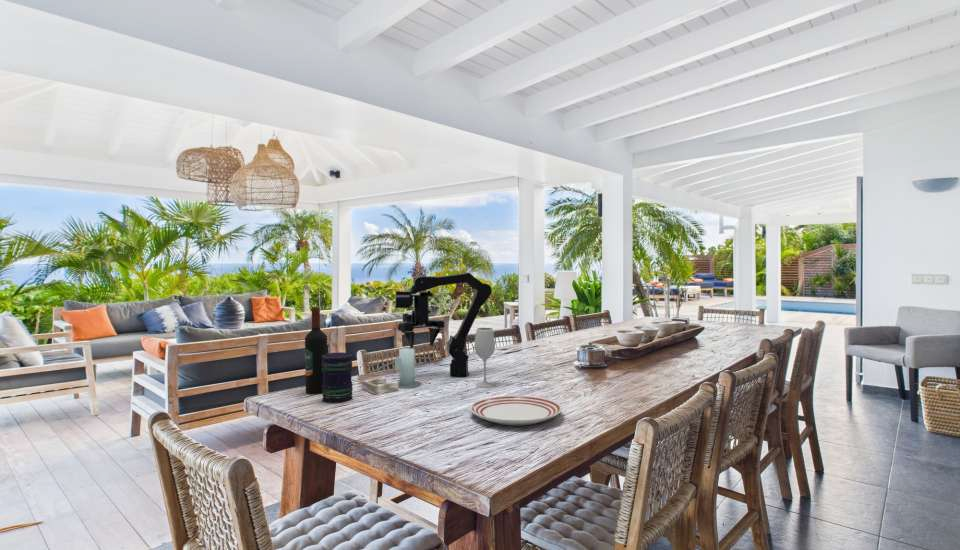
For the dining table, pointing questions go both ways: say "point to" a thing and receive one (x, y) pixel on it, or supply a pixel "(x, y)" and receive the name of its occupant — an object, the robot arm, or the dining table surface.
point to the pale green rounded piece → (406, 366)
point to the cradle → (379, 386)
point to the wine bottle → (314, 354)
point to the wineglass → (484, 350)
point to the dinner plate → (515, 409)
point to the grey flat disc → (410, 385)
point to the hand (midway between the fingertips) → (421, 347)
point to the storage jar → (337, 377)
